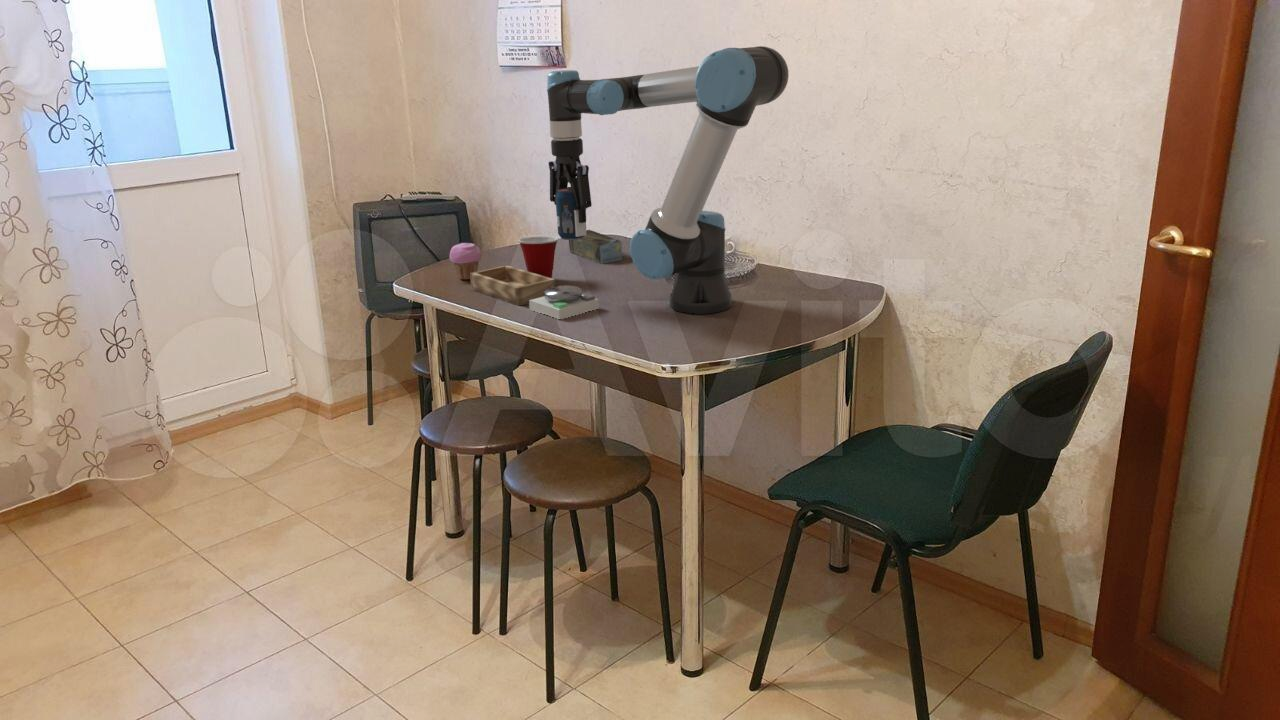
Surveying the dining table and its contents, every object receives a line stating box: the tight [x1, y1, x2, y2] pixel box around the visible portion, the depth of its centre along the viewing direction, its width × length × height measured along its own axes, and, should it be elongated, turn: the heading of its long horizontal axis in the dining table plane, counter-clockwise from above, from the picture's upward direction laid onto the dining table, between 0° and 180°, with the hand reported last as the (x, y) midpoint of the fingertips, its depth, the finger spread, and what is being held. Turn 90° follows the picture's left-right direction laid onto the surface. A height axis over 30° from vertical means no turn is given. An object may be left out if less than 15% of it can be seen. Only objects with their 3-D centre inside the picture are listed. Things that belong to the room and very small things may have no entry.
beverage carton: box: [568, 229, 623, 265], centre depth 278 cm, size 8×19×7 cm, turn 32°
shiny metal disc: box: [545, 285, 583, 302], centre depth 227 cm, size 9×9×2 cm
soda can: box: [555, 186, 585, 241], centre depth 229 cm, size 7×7×12 cm
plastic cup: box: [517, 235, 559, 279], centre depth 252 cm, size 11×11×12 cm
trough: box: [469, 264, 556, 307], centre depth 243 cm, size 22×12×4 cm, turn 42°
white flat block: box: [528, 293, 600, 320], centre depth 227 cm, size 12×12×3 cm
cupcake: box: [449, 242, 482, 281], centre depth 257 cm, size 9×9×10 cm
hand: (572, 233), depth 230 cm, fingers closed on soda can, 7 cm apart
